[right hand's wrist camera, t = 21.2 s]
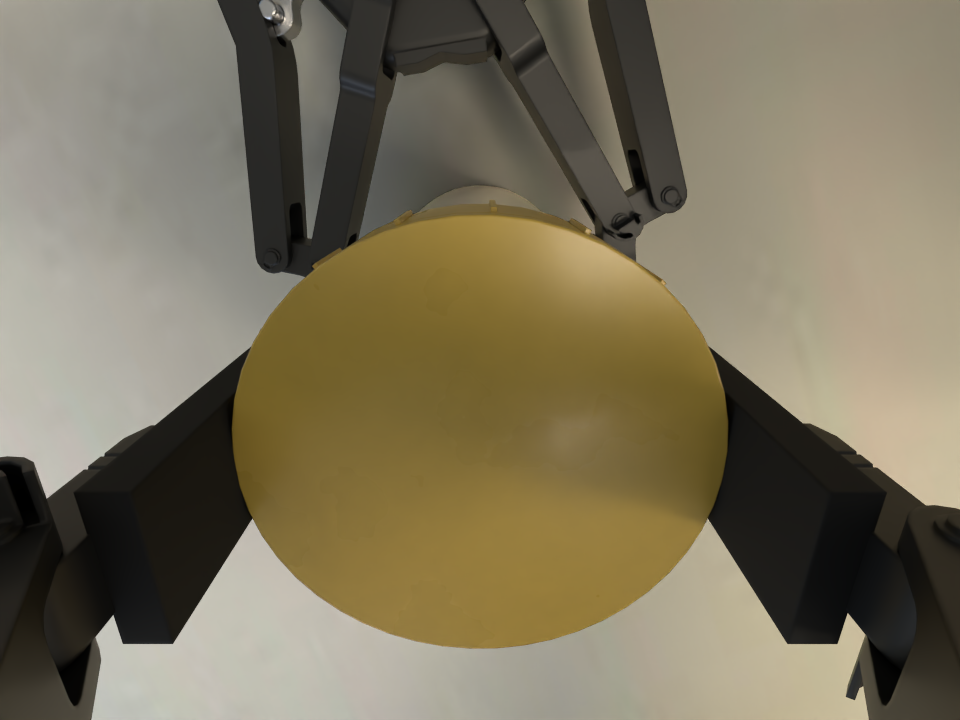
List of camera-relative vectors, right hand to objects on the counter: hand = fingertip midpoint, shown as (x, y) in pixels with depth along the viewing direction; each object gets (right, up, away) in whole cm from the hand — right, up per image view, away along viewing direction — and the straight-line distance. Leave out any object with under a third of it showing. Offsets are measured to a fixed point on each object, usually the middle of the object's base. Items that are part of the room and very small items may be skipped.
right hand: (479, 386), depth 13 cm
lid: (0, -1, -3) cm, 3 cm away
